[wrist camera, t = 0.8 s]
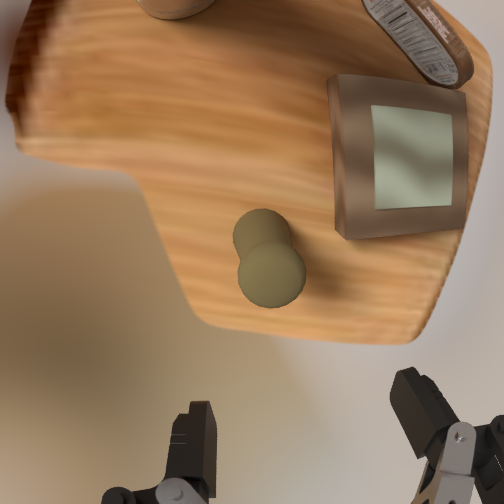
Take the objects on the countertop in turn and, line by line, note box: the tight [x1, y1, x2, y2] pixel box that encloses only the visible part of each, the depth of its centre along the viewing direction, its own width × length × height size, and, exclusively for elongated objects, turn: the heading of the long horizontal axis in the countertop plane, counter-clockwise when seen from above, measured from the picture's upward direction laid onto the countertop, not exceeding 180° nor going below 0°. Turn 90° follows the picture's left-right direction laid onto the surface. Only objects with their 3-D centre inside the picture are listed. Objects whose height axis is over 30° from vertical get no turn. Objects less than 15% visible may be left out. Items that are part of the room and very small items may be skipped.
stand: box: [327, 74, 468, 240], centre depth 27 cm, size 16×16×4 cm
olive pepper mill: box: [233, 209, 306, 308], centre depth 26 cm, size 6×6×11 cm
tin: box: [361, 0, 474, 89], centre depth 19 cm, size 15×3×8 cm, turn 46°
